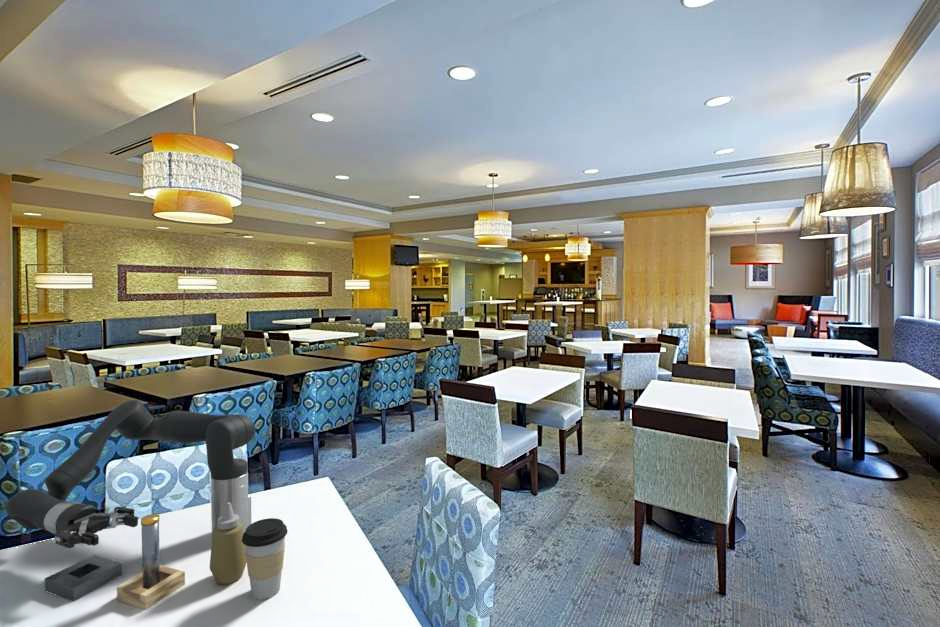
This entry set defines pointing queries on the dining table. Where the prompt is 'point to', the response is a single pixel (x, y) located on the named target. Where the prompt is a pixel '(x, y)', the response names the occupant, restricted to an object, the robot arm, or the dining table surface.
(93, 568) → the socket block
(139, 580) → the oak tray
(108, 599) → the dining table surface
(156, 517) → the steel rod
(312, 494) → the dining table surface
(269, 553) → the coffee cup
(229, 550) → the squeeze bottle
